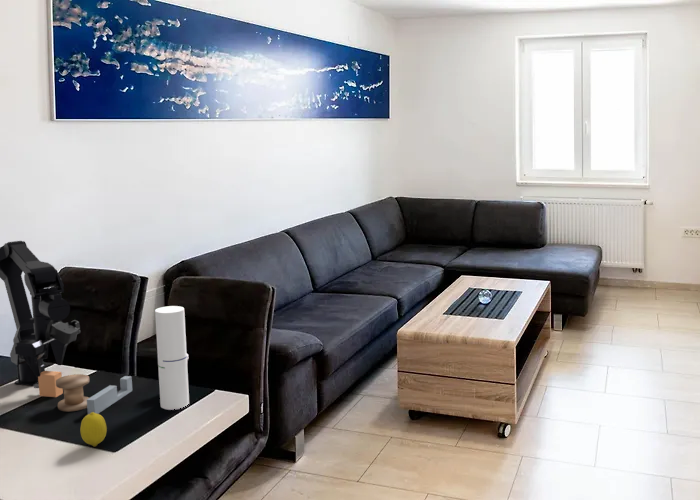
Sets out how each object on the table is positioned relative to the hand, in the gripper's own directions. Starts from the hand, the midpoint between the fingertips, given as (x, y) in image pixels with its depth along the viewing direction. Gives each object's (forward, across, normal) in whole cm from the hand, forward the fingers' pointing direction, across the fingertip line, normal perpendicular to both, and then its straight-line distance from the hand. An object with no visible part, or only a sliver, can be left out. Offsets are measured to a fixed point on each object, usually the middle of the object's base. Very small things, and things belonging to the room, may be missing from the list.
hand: (49, 370), depth 199 cm
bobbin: (+6, -6, -11) cm, 14 cm away
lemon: (+7, -27, -30) cm, 41 cm away
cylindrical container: (+7, 0, -36) cm, 37 cm away
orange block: (+7, 0, +1) cm, 7 cm away
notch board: (+6, -2, -19) cm, 20 cm away
